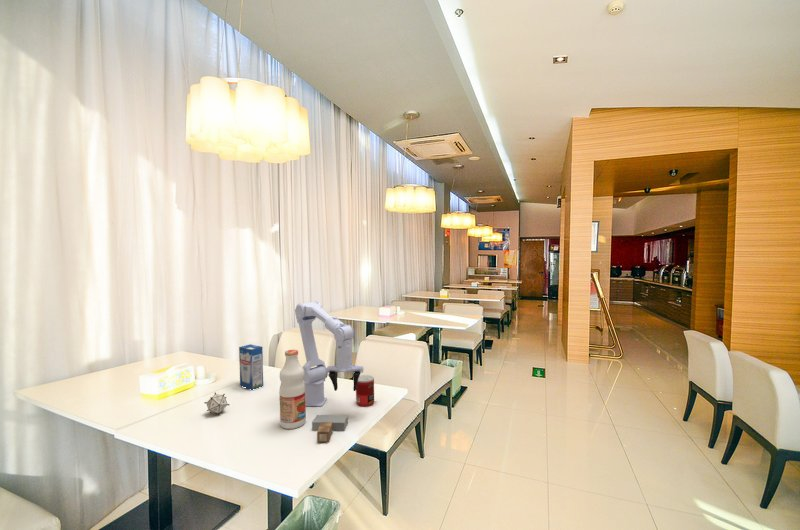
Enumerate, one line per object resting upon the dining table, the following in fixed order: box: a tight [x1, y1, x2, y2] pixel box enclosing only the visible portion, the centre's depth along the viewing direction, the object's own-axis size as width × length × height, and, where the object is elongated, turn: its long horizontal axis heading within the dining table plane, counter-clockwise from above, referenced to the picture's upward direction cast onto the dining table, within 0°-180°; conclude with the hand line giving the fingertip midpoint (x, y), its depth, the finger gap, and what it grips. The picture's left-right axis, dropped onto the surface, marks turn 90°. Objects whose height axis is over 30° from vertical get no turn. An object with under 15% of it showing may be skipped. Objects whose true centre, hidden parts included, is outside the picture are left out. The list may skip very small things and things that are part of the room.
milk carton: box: [238, 344, 264, 391], centre depth 170 cm, size 10×6×20 cm, turn 58°
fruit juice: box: [279, 349, 307, 430], centre depth 131 cm, size 9×9×28 cm
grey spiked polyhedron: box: [204, 392, 231, 416], centre depth 141 cm, size 9×8×10 cm
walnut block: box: [316, 422, 333, 444], centre depth 120 cm, size 4×4×7 cm
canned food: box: [355, 374, 375, 408], centre depth 148 cm, size 8×8×11 cm
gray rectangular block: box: [311, 414, 349, 432], centre depth 128 cm, size 12×6×3 cm, turn 87°
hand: (345, 389), depth 137 cm, fingers open, 7 cm apart
